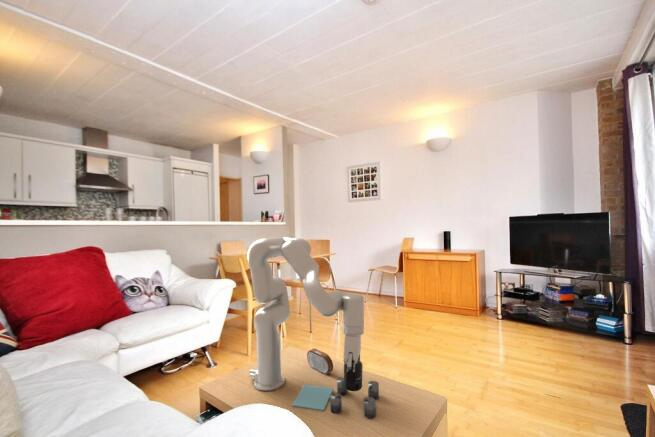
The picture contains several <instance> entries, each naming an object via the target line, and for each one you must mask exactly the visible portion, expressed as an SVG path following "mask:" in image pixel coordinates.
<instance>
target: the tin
mask: <svg viewBox="0 0 655 437" xmlns="http://www.w3.org/2000/svg"><path fill="white" fill-rule="evenodd" d="M306 357H307V358H306V359H307V362H308V365H309V366H310V367H311V368H312V369H314V370H315V371H317V372H319V373H321V374H323V375H328V374H330V373H332V372H333V370H334V364H333V360H332V358H331V356H329V354H327V353H326V352H324V351H322V350H319V349H317V348H312V349H310V350H308V351H307V354H306Z"/></svg>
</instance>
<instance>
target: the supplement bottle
mask: <svg viewBox="0 0 655 437" xmlns="http://www.w3.org/2000/svg"><path fill="white" fill-rule="evenodd" d="M347 362H348V360H347ZM347 362H345V363H344V362H343V363H344V364H343V377H344V387H345V389H347V390H348V391H349V392H358V391H360V390H362V388H363V370H364V369H363V367H364V366H363V362H362V361H361V353H360V354H359V358H358V362H357V363H356V364H355V371H356V383H350V382H347ZM352 362H354V361H352ZM353 365H354V364H352V366H353Z"/></svg>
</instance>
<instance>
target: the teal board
mask: <svg viewBox="0 0 655 437" xmlns="http://www.w3.org/2000/svg"><path fill="white" fill-rule="evenodd" d="M333 391H334V388H333V387H326V386H319V385H311V384H304V385H303V386H302V387H301V390H300V391H299V392H298V394H297V396H296V398H295V399H294V401H293V402H292V404H291V407H293V408H300V409H306V410H314V411H322V412H325V410H326V407H327V405H328V402H330V395H331V394H332V393H333Z"/></svg>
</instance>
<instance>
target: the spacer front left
mask: <svg viewBox="0 0 655 437" xmlns="http://www.w3.org/2000/svg"><path fill="white" fill-rule="evenodd" d="M329 406H330V407H329V411H330V413H331V414H333V415H338V414H341V413H342V411H343V410H342V406H343V405H342V396H341V394H339V393H337V392H332V394H331V395H330V398H329Z"/></svg>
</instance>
